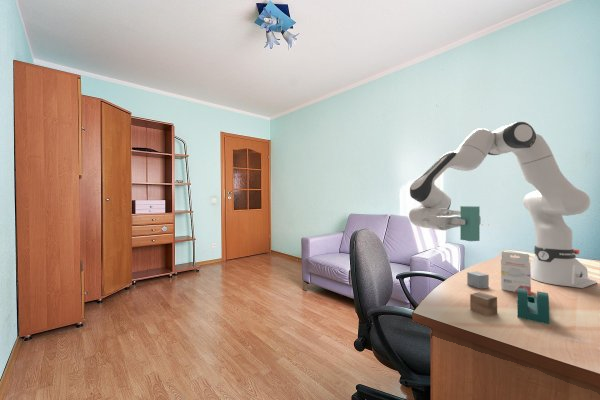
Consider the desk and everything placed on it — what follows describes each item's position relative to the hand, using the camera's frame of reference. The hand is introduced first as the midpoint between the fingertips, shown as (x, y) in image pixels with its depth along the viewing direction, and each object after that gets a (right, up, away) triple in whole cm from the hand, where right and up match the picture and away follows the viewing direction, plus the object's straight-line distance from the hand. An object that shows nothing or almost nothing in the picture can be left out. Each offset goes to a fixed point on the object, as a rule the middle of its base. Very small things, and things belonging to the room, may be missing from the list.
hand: (472, 222), depth 91 cm
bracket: (+12, -27, -10) cm, 31 cm away
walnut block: (-3, -27, -10) cm, 29 cm away
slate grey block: (+11, -27, +13) cm, 32 cm away
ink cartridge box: (+22, -27, +8) cm, 36 cm away
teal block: (0, -6, +1) cm, 7 cm away
